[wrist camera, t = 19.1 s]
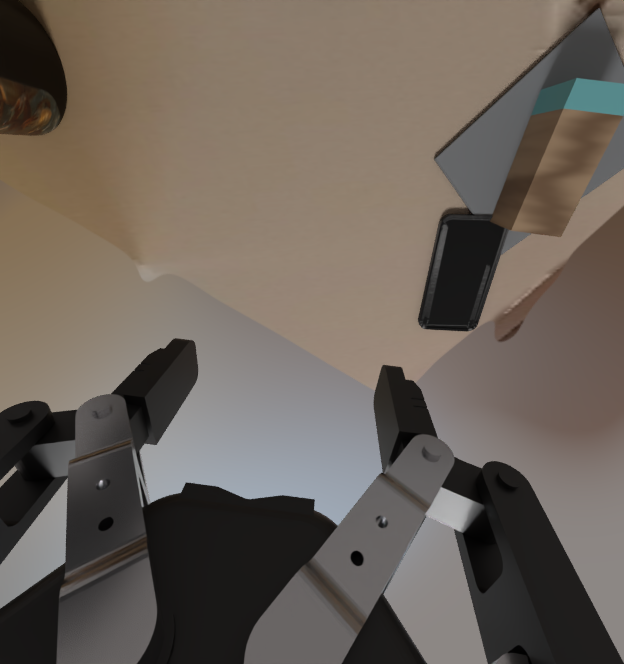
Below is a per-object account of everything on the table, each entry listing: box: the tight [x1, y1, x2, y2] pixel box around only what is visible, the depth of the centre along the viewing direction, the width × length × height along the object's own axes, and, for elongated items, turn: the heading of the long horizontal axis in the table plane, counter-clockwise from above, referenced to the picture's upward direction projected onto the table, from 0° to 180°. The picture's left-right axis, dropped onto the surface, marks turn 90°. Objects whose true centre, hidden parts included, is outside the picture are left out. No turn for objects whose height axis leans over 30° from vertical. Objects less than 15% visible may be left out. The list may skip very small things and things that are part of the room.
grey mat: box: [434, 8, 624, 255], centre depth 31 cm, size 14×16×1 cm
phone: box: [418, 214, 509, 331], centre depth 39 cm, size 8×1×15 cm
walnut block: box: [490, 78, 624, 237], centre depth 30 cm, size 5×5×12 cm
